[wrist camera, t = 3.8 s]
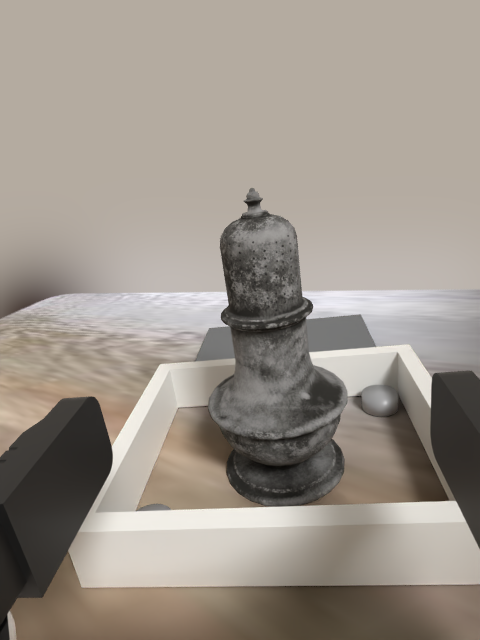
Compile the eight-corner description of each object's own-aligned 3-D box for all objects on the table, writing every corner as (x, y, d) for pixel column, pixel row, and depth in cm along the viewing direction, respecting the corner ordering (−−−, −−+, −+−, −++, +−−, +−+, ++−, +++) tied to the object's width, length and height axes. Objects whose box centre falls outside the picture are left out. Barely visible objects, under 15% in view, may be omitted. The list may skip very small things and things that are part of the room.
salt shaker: (215, 437, 22) (171, 195, 18) (326, 415, 22) (308, 175, 18) (227, 526, 16) (167, 206, 12) (374, 495, 17) (364, 177, 13)
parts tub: (409, 384, 24) (409, 344, 23) (518, 584, 13) (526, 520, 12) (168, 401, 26) (159, 364, 25) (81, 587, 15) (61, 532, 14)
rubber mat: (360, 321, 33) (360, 314, 33) (383, 369, 26) (382, 360, 26) (210, 335, 35) (209, 328, 35) (190, 383, 28) (189, 375, 27)
